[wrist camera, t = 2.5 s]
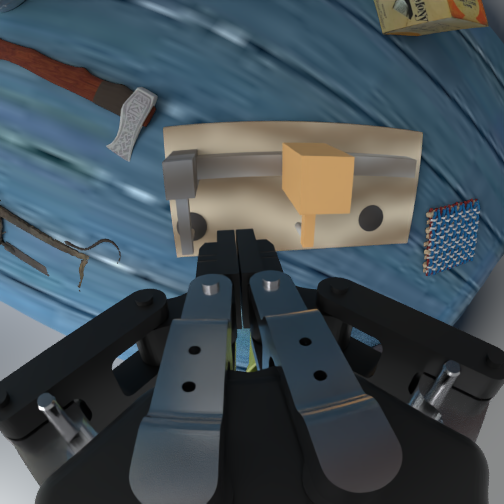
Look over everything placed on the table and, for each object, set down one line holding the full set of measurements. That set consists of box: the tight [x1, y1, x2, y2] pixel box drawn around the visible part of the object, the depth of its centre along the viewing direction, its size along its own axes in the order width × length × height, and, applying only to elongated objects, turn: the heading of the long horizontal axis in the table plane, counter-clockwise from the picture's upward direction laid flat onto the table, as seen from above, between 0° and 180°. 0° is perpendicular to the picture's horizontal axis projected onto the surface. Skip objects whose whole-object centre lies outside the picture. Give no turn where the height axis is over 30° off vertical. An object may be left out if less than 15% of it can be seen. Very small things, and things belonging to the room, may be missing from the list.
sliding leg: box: [282, 143, 355, 248], centre depth 26 cm, size 9×4×8 cm, turn 1°
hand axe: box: [0, 39, 157, 161], centre depth 24 cm, size 27×2×10 cm
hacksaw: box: [0, 200, 121, 292], centre depth 31 cm, size 24×10×2 cm, turn 54°
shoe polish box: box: [374, 0, 488, 36], centre depth 18 cm, size 5×5×12 cm
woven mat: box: [423, 199, 480, 276], centre depth 37 cm, size 10×11×2 cm
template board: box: [162, 121, 423, 257], centre depth 29 cm, size 14×28×7 cm, turn 91°
